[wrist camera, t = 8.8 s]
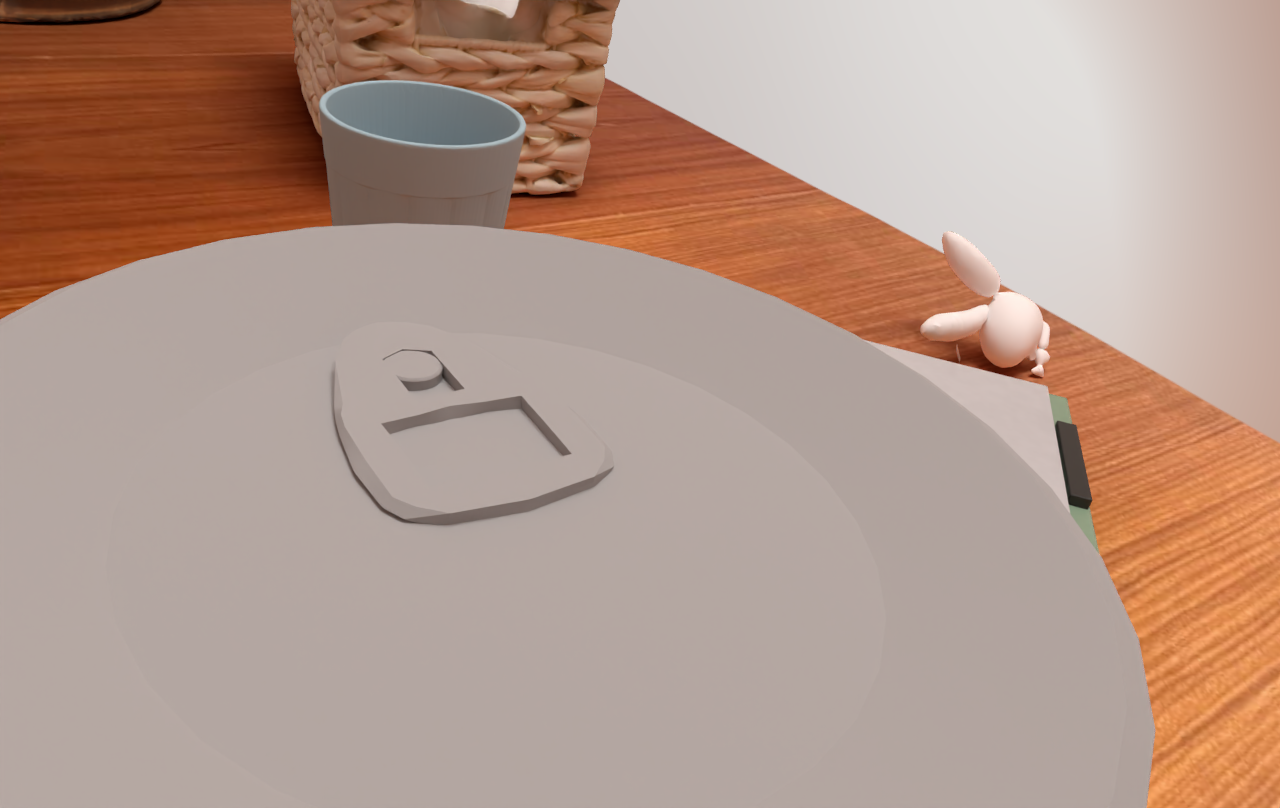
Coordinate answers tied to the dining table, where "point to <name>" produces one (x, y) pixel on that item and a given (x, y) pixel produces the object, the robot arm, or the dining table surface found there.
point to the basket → (473, 64)
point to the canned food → (525, 547)
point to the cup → (419, 154)
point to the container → (69, 9)
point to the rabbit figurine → (990, 312)
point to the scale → (1018, 424)
